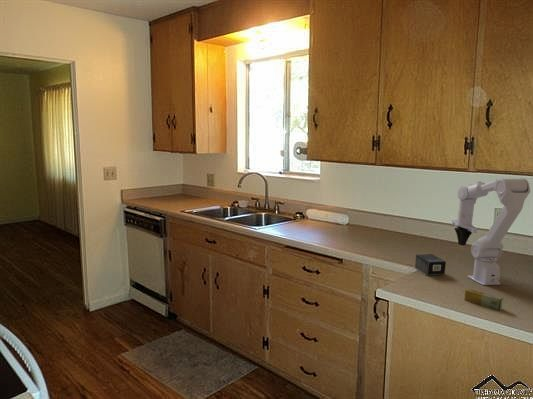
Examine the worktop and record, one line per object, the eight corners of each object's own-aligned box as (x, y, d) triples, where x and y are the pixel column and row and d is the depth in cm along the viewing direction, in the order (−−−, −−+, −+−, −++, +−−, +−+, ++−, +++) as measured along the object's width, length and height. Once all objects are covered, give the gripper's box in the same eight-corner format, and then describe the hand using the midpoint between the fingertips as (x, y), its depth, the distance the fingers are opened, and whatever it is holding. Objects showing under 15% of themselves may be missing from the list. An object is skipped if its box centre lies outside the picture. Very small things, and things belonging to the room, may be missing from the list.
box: (444, 274, 173) (431, 265, 183) (446, 261, 172) (432, 253, 182) (427, 275, 172) (414, 266, 182) (428, 262, 170) (415, 253, 181)
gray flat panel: (443, 274, 174) (443, 273, 174) (425, 275, 172) (425, 274, 172) (431, 267, 183) (431, 266, 182) (414, 268, 181) (414, 266, 181)
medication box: (502, 309, 142) (504, 298, 141) (500, 311, 140) (501, 300, 140) (466, 298, 151) (467, 287, 150) (463, 300, 149) (464, 289, 148)
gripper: (447, 210, 185) (443, 240, 188) (467, 218, 171) (464, 249, 174) (461, 210, 187) (458, 239, 189) (483, 218, 173) (479, 249, 175)
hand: (461, 244), depth 182 cm, fingers closed
